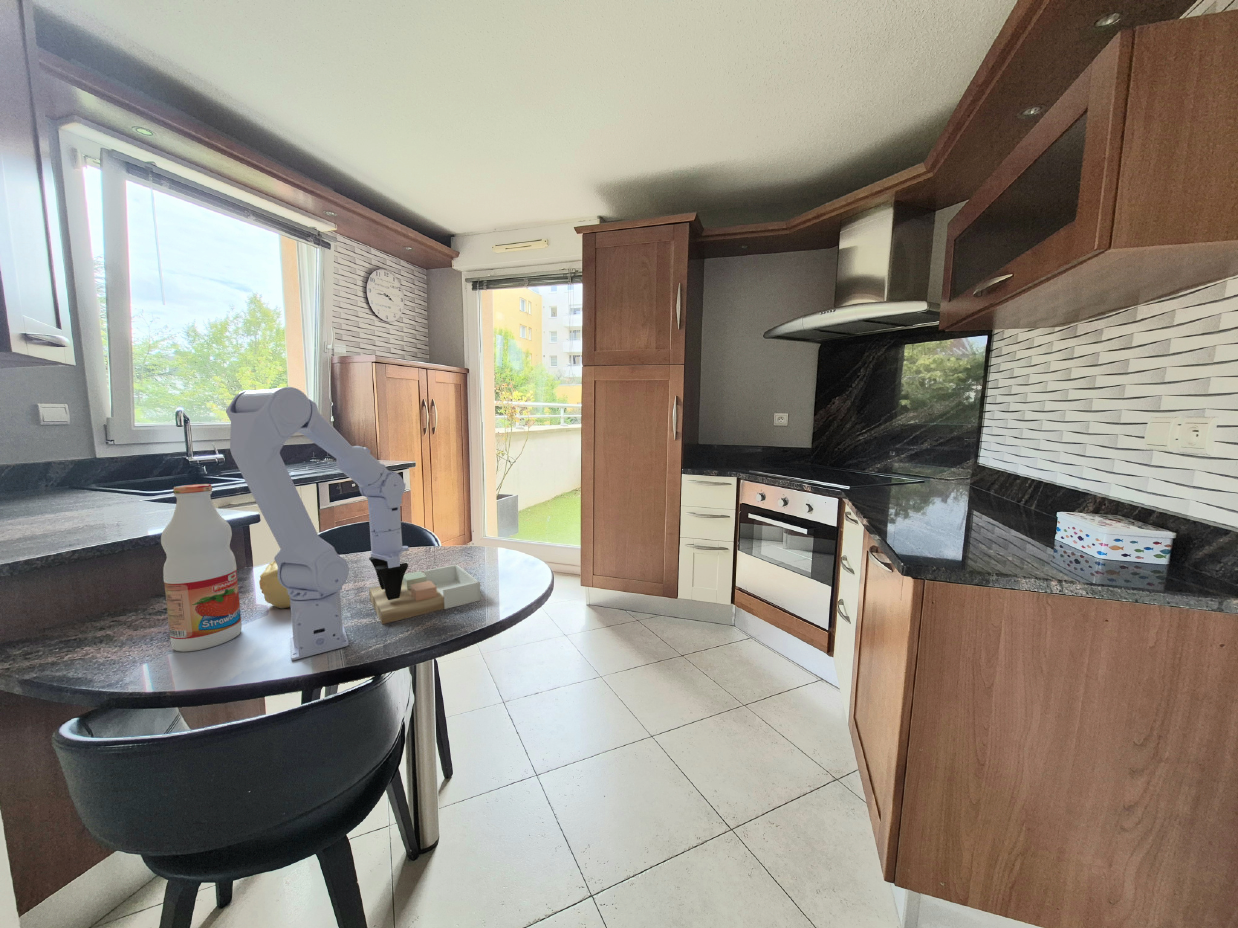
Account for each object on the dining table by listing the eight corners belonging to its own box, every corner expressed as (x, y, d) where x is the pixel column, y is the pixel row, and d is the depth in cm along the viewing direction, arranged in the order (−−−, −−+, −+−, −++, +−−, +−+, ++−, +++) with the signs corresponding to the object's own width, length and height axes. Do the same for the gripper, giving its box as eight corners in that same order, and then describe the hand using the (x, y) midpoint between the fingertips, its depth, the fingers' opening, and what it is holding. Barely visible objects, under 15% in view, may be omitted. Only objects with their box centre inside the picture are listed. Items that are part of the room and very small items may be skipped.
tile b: (426, 585, 99) (426, 576, 99) (407, 589, 97) (406, 580, 96) (421, 579, 103) (421, 570, 103) (402, 583, 101) (402, 574, 100)
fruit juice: (199, 630, 84) (184, 483, 82) (254, 626, 86) (241, 481, 83) (155, 655, 75) (137, 490, 73) (217, 650, 76) (201, 487, 74)
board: (444, 608, 92) (443, 596, 92) (381, 624, 85) (381, 611, 85) (425, 587, 105) (424, 577, 105) (369, 599, 98) (369, 588, 98)
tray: (480, 600, 96) (479, 581, 96) (444, 609, 92) (443, 590, 91) (457, 580, 109) (456, 564, 109) (425, 587, 105) (424, 570, 105)
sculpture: (270, 598, 100) (265, 551, 99) (332, 589, 105) (329, 544, 104) (253, 617, 90) (248, 565, 89) (324, 606, 95) (320, 556, 94)
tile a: (436, 596, 92) (436, 586, 92) (416, 600, 90) (415, 591, 90) (430, 589, 96) (430, 580, 96) (410, 593, 94) (410, 584, 94)
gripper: (414, 532, 89) (418, 598, 90) (399, 520, 100) (403, 579, 101) (374, 537, 84) (379, 607, 85) (364, 525, 96) (368, 587, 97)
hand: (390, 593), depth 93 cm, fingers open, 7 cm apart
